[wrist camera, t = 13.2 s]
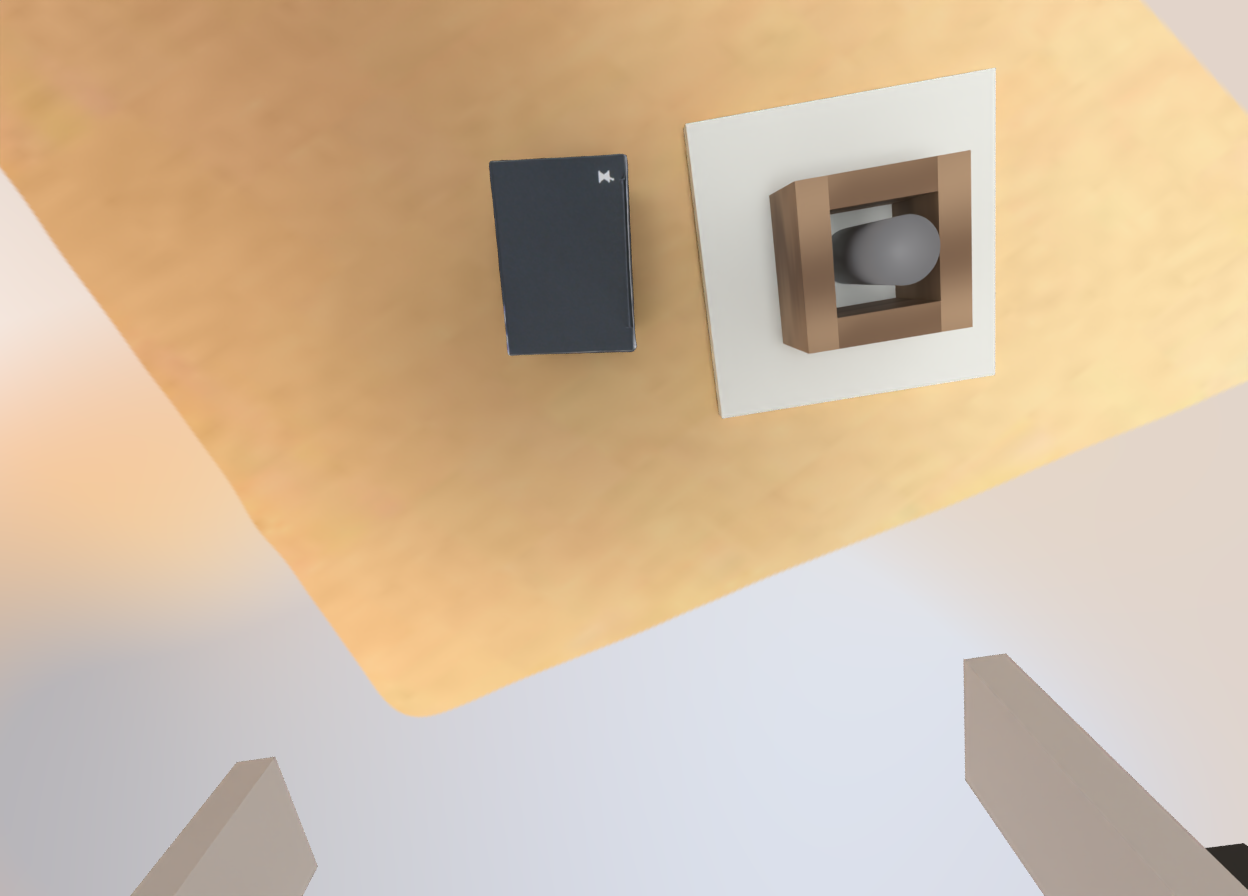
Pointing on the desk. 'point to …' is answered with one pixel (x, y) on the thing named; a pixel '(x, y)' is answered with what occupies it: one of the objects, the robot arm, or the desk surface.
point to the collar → (918, 307)
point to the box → (565, 254)
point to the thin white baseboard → (838, 238)
